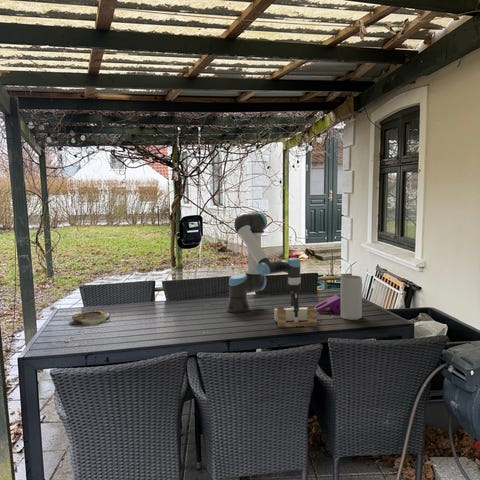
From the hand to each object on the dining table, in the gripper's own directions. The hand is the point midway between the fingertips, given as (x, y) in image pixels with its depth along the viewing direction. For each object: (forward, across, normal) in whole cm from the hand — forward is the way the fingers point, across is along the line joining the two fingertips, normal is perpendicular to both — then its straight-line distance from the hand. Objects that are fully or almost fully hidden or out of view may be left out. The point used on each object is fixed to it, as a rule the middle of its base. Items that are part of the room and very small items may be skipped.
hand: (294, 319), depth 260 cm
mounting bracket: (+1, +17, -24) cm, 30 cm away
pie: (+1, +11, +128) cm, 129 cm away
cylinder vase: (0, +2, -35) cm, 35 cm away
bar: (0, 0, -1) cm, 1 cm away
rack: (0, -10, 0) cm, 10 cm away
